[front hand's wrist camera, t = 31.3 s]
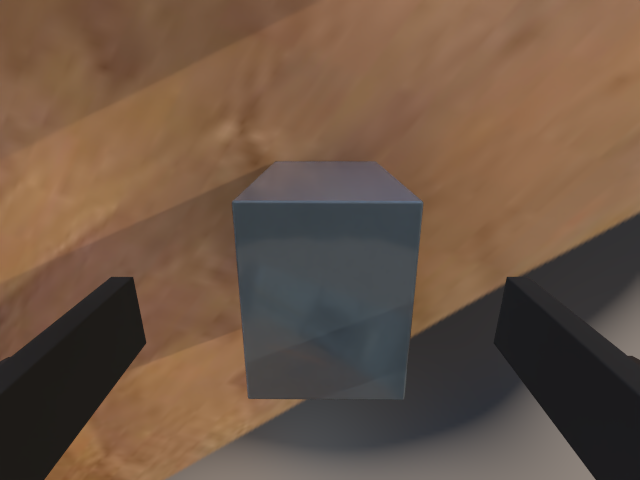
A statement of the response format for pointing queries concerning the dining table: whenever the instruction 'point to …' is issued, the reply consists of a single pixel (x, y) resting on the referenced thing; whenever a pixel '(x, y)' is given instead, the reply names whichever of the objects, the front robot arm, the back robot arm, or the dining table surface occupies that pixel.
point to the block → (326, 280)
